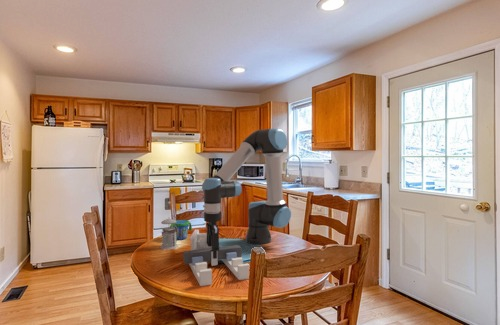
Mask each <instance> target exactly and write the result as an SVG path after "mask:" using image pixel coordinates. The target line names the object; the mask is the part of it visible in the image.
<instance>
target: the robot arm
mask: <svg viewBox="0 0 500 325" xmlns="http://www.w3.org/2000/svg"><path fill="white" fill-rule="evenodd" d="M287 145H288V138H287V134H286V132H284V130H283V129H280V128H277V127H275V128H266V129H258V130H255V131H253V132H252V133H250V134H249V135H247V136H246V138H245V139H244V140H243V141H242V142H241V143H240V146H239V148H238V149H237V150H236V151H235V152H234V154H232V156H231V157H230V158H229V159H228V160H227V161H226V162H225V163H224V164H223V165H222V166H221V168H219V170H218V171H217V172H216V173H215V174H214V175H213V176H212V177H207V178H205V179H204V180H203V182H202V185H201V190H202V192H203V204H204V205H202V208H203V211H204V213H203V220H204V221H205V222H206V233H207V242H206V243H207V245H208V246H209V247H208V248H212V250H210V251H211V261H210V265H211V266H212V267H213V266H218V264H219V263H218V262H219V260H218V251H219V247H220V239H219V238H220V235H219V234H220V228H219V226H218V225H217V222H220V221H221V220H222V217H221V216H222V214H221V210H222V205H221V204H222V202H221V201H222V200H221V199H225V198H235V197H238V196H240V195H241V194H242V188H243V187H242V184H241V183H240V182H239V181H237V180H231V179H232V178H233V176H234V175H235V174H236V173H237V172H238V171H239V169H241V167H242V166H243V165H244V164H245V162H246V161H247V160H248V159H249V158H250V157H252V156H254V155H255V154H256V153H257V152H259V151H261V155H262V156H264V160H265V161H264V162H265V177H266V179H265V180H266V195H267V196H266V199H267V200H260V201H259V200H258V201H251V202H250V203H249V204H248V209H247V211H248V216H247V217H248V228H247V232H246V234H245V241H247V243H248V242H249V244H254V245H256V244H257V245H264V244H269V243H271V242H272V235H271V232H270V229H269V226H270V227H274V228H281V229H282V228H285V227H286V226H287V225H288V224H289V222H290V220H291V217H292V211H291V209H290V208H289V207H288V206H287V201H285V199H284V190H283V174H282V155H283V154H284V150H285V149H286V148H287Z"/></svg>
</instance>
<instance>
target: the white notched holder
mask: <svg viewBox="0 0 500 325" xmlns="http://www.w3.org/2000/svg"><path fill="white" fill-rule="evenodd" d="M222 260H223V261H222ZM222 260H221V261H222V262H223V264H225V266H227V268H228V269H229V270H230V272H231V273H232V274H233V275H234V276H235V278H236V279H237V280H239V281H243V280H247V279H248V280H249V269H250V270H251V268H250V264H249V263H248V262H247V263H244V258H243V257H242V256H241V257H237V253H236V252H231V253H226V259H222ZM188 265H189V267H190V269H191V271H192V273H193V275H194V277H195V279H196V280H197V283H198V284H199V286H200V287H205V286H211V285H213V270H212V268H208V261H206V262H203V257H202V256H198V257H192V263H190V264H188Z"/></svg>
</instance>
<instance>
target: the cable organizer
mask: <svg viewBox="0 0 500 325" xmlns="http://www.w3.org/2000/svg"><path fill="white" fill-rule="evenodd" d="M189 240H190V250H199V249H208V247H209V246H208V245H207V243H206V242H207V232H206V233H203V232H202V233H201V232H200V230H199V229H194V230H193V232H192V234H191V235H190V237H189Z"/></svg>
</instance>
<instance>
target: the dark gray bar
mask: <svg viewBox="0 0 500 325" xmlns="http://www.w3.org/2000/svg"><path fill="white" fill-rule="evenodd" d="M210 250H212V248H208V249H199V250H191V249H190V250H183V253H182V254H183V256H182V258H183V264H184V265H189V264H190V263H192V257H198V256H202V257H203V262H211V251H210ZM231 252H236V253H237V258H240V257H242V246H240V245H239V244H235V245H228V246H219V251H218V261H220V260H221V259H226V253H231ZM221 261H222V260H221Z"/></svg>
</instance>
